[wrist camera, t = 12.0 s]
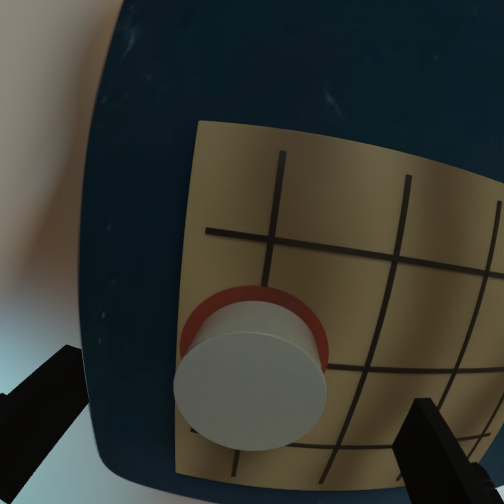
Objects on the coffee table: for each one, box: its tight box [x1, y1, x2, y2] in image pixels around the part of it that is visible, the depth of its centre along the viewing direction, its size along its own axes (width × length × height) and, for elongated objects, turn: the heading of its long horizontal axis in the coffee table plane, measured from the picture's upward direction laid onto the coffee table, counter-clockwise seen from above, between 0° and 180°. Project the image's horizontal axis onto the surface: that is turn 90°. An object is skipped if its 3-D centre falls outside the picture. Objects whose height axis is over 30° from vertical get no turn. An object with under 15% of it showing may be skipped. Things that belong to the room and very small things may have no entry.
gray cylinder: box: [173, 301, 327, 451], centre depth 14 cm, size 6×6×4 cm
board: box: [175, 121, 504, 491], centre depth 16 cm, size 24×22×2 cm
